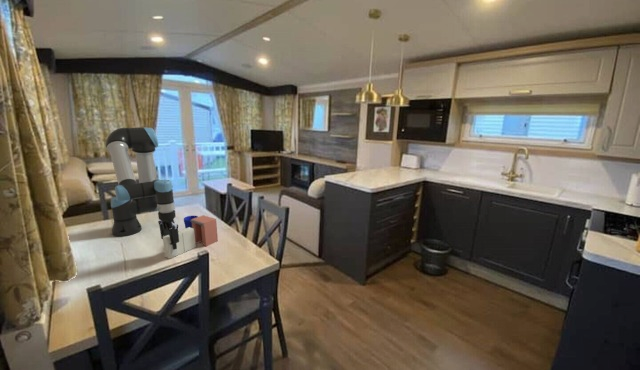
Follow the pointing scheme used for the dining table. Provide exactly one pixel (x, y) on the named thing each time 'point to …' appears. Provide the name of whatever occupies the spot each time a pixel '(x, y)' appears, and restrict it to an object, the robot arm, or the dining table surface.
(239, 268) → the dining table surface
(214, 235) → the dispenser
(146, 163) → the robot arm
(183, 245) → the white double cube block
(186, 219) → the mug
